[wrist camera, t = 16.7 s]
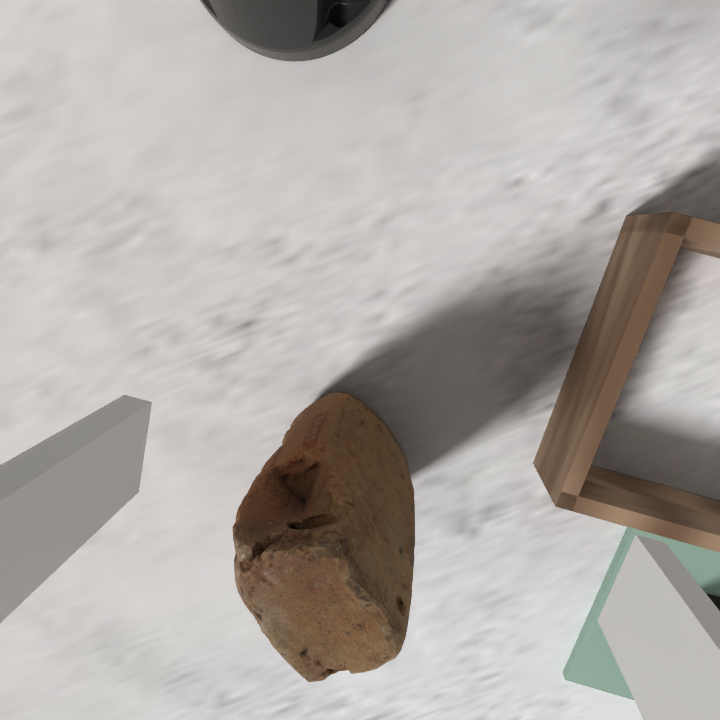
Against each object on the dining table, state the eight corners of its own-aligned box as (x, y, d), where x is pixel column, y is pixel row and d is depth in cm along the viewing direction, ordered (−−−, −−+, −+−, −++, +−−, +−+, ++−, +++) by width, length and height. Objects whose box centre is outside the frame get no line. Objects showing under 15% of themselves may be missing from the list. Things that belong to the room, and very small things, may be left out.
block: (421, 479, 44) (428, 669, 25) (346, 513, 46) (297, 718, 27) (359, 370, 43) (314, 484, 23) (283, 410, 44) (181, 548, 25)
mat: (629, 522, 43) (633, 528, 43) (819, 576, 43) (827, 582, 42) (562, 672, 47) (565, 679, 47) (736, 723, 47) (741, 731, 46)
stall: (533, 463, 43) (555, 506, 36) (626, 215, 38) (672, 211, 31) (726, 517, 42) (785, 571, 36) (847, 273, 37) (944, 282, 30)
